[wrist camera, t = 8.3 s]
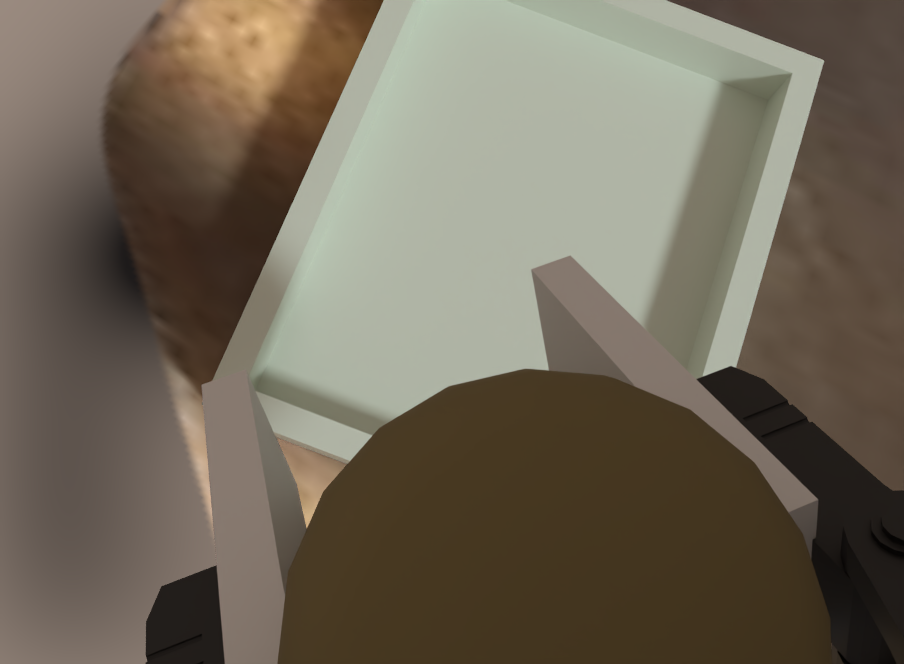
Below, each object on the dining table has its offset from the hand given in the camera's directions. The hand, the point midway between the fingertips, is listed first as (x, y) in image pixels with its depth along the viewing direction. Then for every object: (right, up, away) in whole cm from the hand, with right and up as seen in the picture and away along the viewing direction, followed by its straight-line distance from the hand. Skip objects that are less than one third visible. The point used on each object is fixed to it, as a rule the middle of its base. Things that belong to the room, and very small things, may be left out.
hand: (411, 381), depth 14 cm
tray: (+3, +4, +17) cm, 17 cm away
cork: (+1, -4, +3) cm, 5 cm away
